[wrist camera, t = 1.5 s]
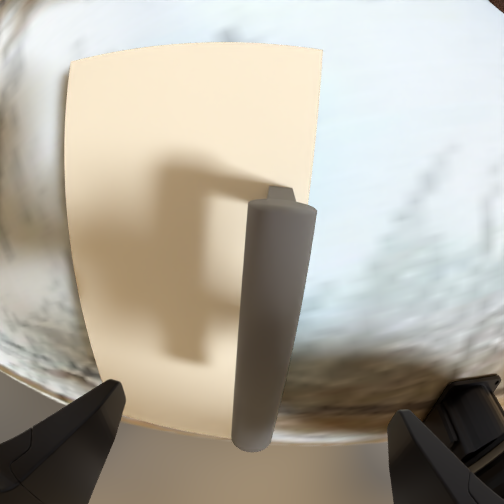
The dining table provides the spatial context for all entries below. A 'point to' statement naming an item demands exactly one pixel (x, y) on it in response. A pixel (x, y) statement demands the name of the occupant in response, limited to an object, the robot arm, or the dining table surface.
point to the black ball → (498, 4)
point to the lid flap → (193, 225)
